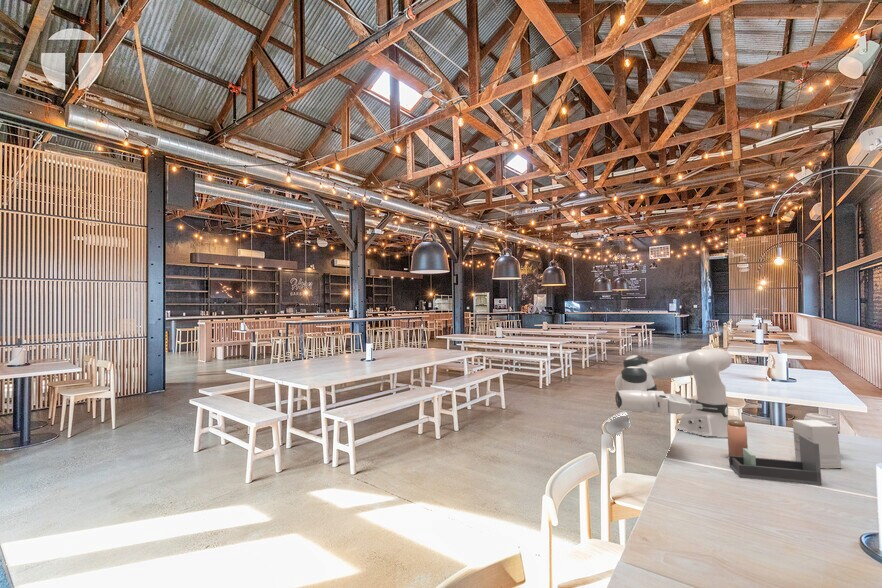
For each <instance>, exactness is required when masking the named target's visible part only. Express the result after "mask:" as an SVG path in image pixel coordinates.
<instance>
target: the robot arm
mask: <svg viewBox="0 0 882 588" xmlns="http://www.w3.org/2000/svg"><path fill="white" fill-rule="evenodd" d="M732 362H733V357H732V355H731V354H730V353H729V352H728V351H727V350H725V349H723V348H720V347H719V348H718V347H710V348H701V349H696V350H694V351H689V352H683V353H678V354H673V355H672V354H671V355H667V356H663V357H659V358H656V359H654V360H651V361H649V359H648V358H645V357H644V356H642V355H640V354H638V355H637V354H633V355H629V356H627V357H626V358H624V360H623V362H622V364H623V369H622V370H621V371H620V374H618V375H617V376H616V378H615V380H614V388H615V390H616V392H615V405H616V407H617V408H618V409H619V410H623V411H627V412H632V413H634V412H635V413H642V412H647V413H648V412H649V413H653V414H661V415H664V416H665V415H666V416H668V415H669V414H671V415H672V414H673V415H674V414H675V415H678V414H679V415H680V414H681V418H680V421H679V423H677V424H676V425H675V426H674V429H675V430H677V431H680V429H681V430H684V431H687V432H686V433H688V432H691V433H690V434H692V433H695V434H694V435H696V434H699V435H703V436H717V437H716V438H728V434H727V424H728V420H729V418H728V417H729V407H728V403H727V394H726V391H727V390H726V385H725V384H724V383H723V381H722V379H721V377H720V373H719V372H723V371H724V370H726V369H728V368H729V367H730V366H732ZM691 376H693V378H694V380H695V385H696V395H697V396H696V397H697V399H695V398H689V397H684V396H682V395H680V394H679V393H665V392H664V390H658V387H657V384H656V382H655V380H654V379H657V380H665V379H666V380H669V379H676V378H683V377H691ZM678 429H679V430H678ZM684 431H683V432H684ZM699 435H698V436H699ZM703 436H702V437H703Z"/></svg>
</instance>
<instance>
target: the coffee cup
mask: <svg viewBox="0 0 882 588" xmlns="http://www.w3.org/2000/svg"><path fill="white" fill-rule="evenodd" d="M803 420H819V421H822V422H825V423H828V424H831V425H835V426H837V425H838V424H839V423H838V421H837V420H836V418H835V417H834V416H833V415H830V414H824V413H816V412H815V413H814V412H812V413H810V412H809V413H806V414H805V416H804V417H803Z"/></svg>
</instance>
